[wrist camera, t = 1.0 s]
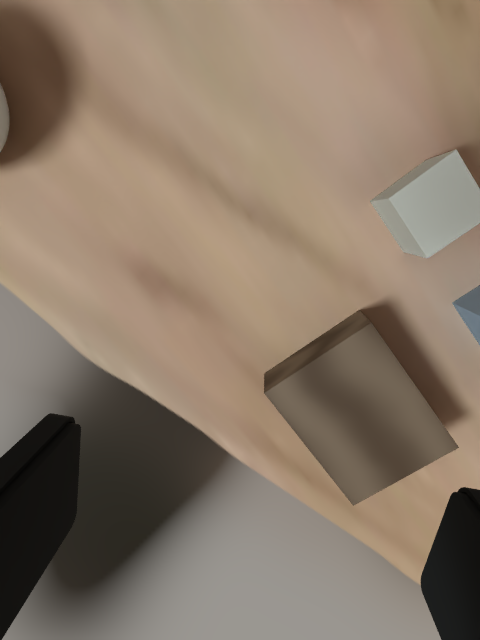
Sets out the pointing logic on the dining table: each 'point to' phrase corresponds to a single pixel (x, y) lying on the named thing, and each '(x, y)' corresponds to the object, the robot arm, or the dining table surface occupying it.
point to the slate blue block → (470, 311)
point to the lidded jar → (3, 118)
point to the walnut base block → (357, 409)
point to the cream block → (430, 205)
